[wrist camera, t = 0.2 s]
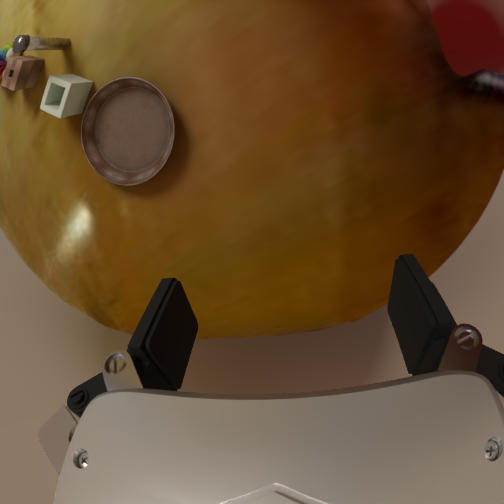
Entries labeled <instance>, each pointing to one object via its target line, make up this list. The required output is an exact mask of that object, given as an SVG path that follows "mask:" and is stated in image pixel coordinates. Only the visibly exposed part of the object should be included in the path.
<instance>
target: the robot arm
mask: <svg viewBox="0 0 504 504" xmlns="http://www.w3.org/2000/svg"><path fill="white" fill-rule="evenodd" d="M388 314H389V316H390V319H391V322H392V325H393V327H394V330H395V333H396V336H397V339H398V342H399V345H400V348H401V351H402V354H403V357H404V360H405V364H406V367H407V370H408V373H409V374H412V375H413V376H411V377H407V378H402V379H397V380H391V381H386V382H380V383H375V384H369V385H363V386H356V387H349V388H341V389H333V390H324V391H313V392H301V393H284V394H210V393H194V392H180V391H177V389H180V388H181V385H182V382H183V378H184V375H185V371H186V368H187V365H188V361H189V357H190V354H191V351H192V348H193V344H194V341H195V338H196V334H197V331H198V322H197V320H196V318H195V315H194V313H193V311H192V308H191V306H190V304H189V301H188V299H187V297H186V294H185V292H184V289H183V287H182V284H181V282H180V281H177V279H176V278H164V279H162V280H161V282H160V284H159V286H158V287H157V289H156V291H155V293H154V295H153V297H152V299H151V301H150V302H149V304H148V306H147V308H146V310H145V312H144V314H143V316H142V318H141V320H140V322H139V324H138V326H137V328H136V330H135V332H134V334H133V336H132V338H131V340H130V342H129V345H128V349H127V351H124V350H117V351H114V352H112V353H110V354H109V355H108V356H107V357H106V358H105V359H104V361H103V363H102V372H101V373H100V374H98V375H96V376H94V377H93V378H91V379H89V380H88V381H86V382H84V383H83V384H81V385H79V386H77V387H76V388H74V389H73V390H72V391H71V392H70V394H69V396H68V399H67V406H65V405H63V406H62V407H61V408H60V409H59V410H58V411H57V412H56V413H55V414H54V415H53V416H52V417H51V418H50V419H49V420H48V421H47V422H46V423H45V424H44V425H42V427H41V428H40V431H39V440H40V443H41V444H42V446H43V448H44V450H45V452H46V454H47V455H48V457H49V459H50V461H51V462H52V464H53V466H54V467H55V469H56V471H57V472H58V474H59V475H60V476H59V480H58V485H57V489H56V493H55V498H54V503H53V504H504V354H502V353H500V352H497V351H495V350H493V349H491V348H489V347H487V346H485V345H483V344H482V336H481V333H480V332H479V331H478V329H476V328H475V327H474V326H472V325H470V324H459V325H457V324H456V322H455V320H454V318H453V317H452V315H451V313H450V311H449V309H448V307H447V306H446V304H445V302H444V300H443V299H442V297H441V295H440V294H439V292H438V290H437V288H436V287H435V285H434V284H433V283H432V282H431V281H430V280H429V278H428V277H427V275H426V273H425V272H424V270H423V269H422V267H421V266H420V264H419V263H418V261H417V260H416V258H415V257H414V255H413V254H406V255H400V256H399V259H396V260H395V266H394V273H393V279H392V285H391V291H390V296H389V302H388Z"/></svg>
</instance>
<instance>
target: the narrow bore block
mask: <svg viewBox="0 0 504 504" xmlns="http://www.w3.org/2000/svg"><path fill="white" fill-rule="evenodd" d="M43 61H44V59H41V58H37V57H33V56H17V57H9V59H8V62H7V66H6V69H5V72H4V76H3V80H2V83H1V86H3V87H6V88H8V89H10V90H13V91H16V90H21V89H27V88H32V87H35V85H36V82H37V79H38V75H39V72H40V69H41V67H42V64H43Z"/></svg>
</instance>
